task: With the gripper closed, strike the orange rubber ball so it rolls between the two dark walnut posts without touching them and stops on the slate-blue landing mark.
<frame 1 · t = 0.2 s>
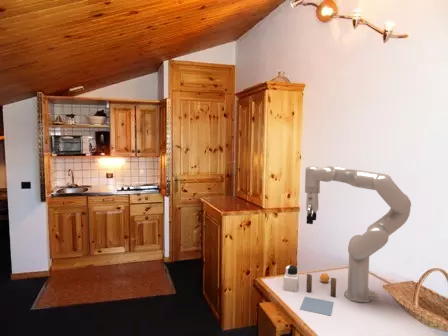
hand: (311, 221, 171), 36 cm above the table, tool pointing down, fingers open, 9 cm apart
landing mark: (317, 305, 154), on the table
medicine bottle: (291, 288, 173), on the table
post 2: (333, 296, 165), on the table
ball: (324, 277, 181), on the table
post 1: (309, 291, 169), on the table
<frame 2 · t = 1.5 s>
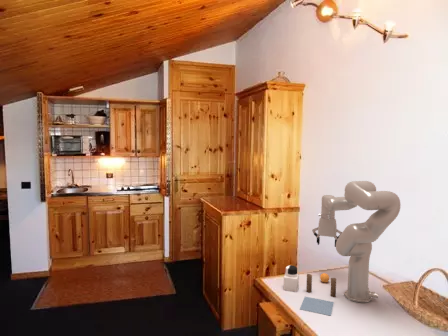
hand: (326, 245, 189), 19 cm above the table, tool pointing down, fingers open, 9 cm apart
nothing on the table moved.
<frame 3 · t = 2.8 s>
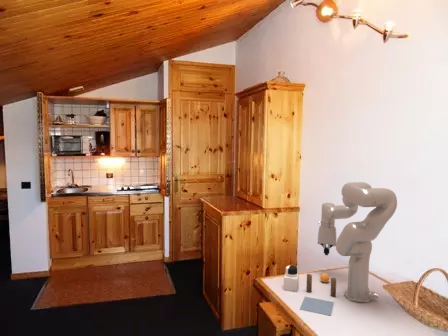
hand: (326, 254, 190), 13 cm above the table, tool pointing down, fingers closed
nothing on the table moved.
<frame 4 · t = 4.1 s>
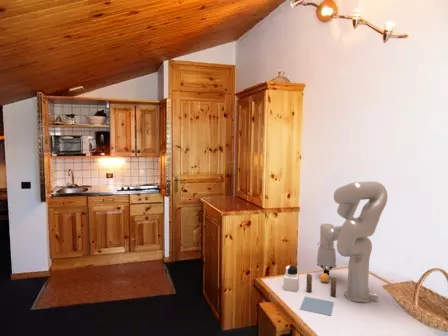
hand: (326, 276, 186), 1 cm above the table, tool pointing down, fingers closed
nothing on the table moved.
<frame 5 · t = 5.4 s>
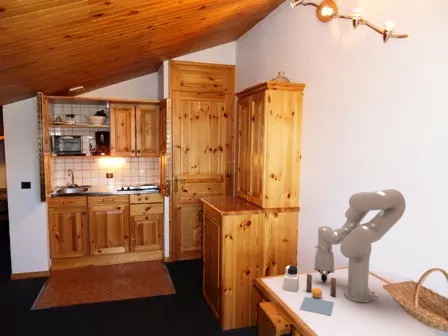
hand: (324, 281, 179), 1 cm above the table, tool pointing down, fingers closed
ball: (316, 292, 163), on the table
everything else where it was.
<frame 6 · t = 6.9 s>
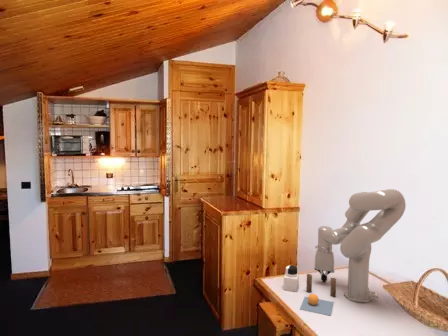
hand: (324, 281, 179), 1 cm above the table, tool pointing down, fingers closed
ball: (313, 299, 155), on the table
everything else where it was.
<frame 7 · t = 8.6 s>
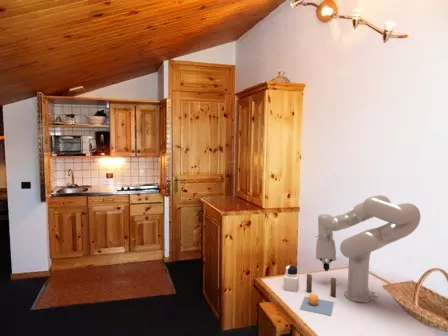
hand: (326, 270, 177), 8 cm above the table, tool pointing down, fingers closed
nothing on the table moved.
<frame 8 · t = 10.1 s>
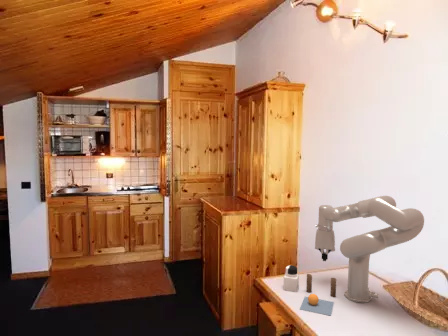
hand: (324, 260, 178), 13 cm above the table, tool pointing down, fingers closed
nothing on the table moved.
at the end: ball 2.0 cm from the landing mark (horizontally); ball never touched post 2; ball never touched post 1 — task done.
